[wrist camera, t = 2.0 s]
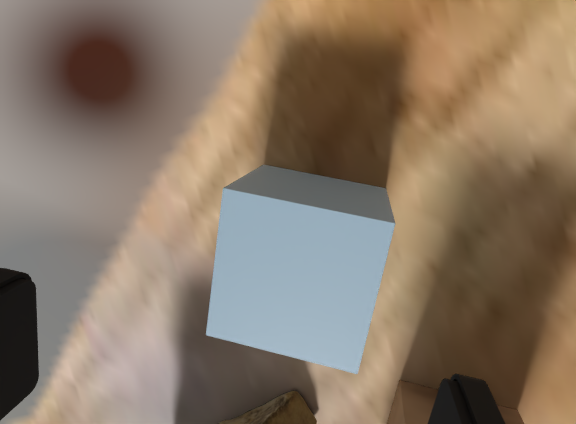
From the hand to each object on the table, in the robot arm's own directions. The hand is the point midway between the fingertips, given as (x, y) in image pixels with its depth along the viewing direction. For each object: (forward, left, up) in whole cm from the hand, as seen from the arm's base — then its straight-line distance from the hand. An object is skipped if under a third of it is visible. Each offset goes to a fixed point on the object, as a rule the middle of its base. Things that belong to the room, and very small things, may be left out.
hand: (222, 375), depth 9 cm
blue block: (-1, 0, -12) cm, 12 cm away
